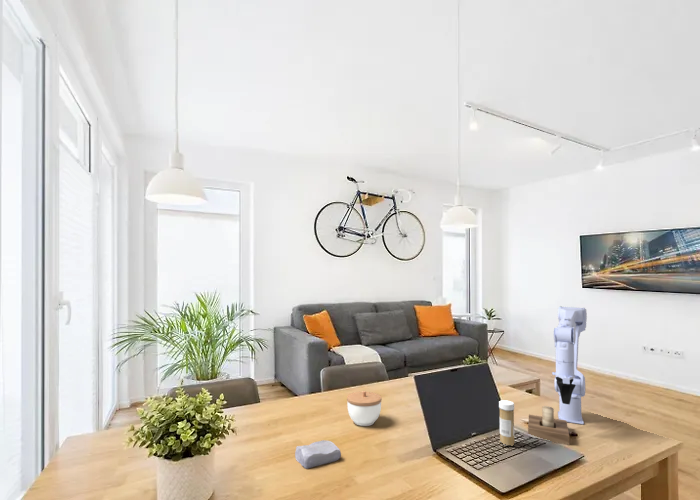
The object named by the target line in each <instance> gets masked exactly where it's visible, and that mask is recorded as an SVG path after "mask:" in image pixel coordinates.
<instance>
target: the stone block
mask: <svg viewBox="0 0 700 500" xmlns="http://www.w3.org/2000/svg"><path fill="white" fill-rule="evenodd" d="M294 456H295V457H294V458H295V460H296V461H297V462H298V463H299V464H300V465H301V467H303V468H304V469H311V468H315V467H320V466H323V465H326V464H329V463H333V462H334V463H335V462H337V461H338V460H340V459H341V456H342V452H341V449H340V448H339V447H338V446H337V445H336V444H335V443H334V442H332V441H330V440H319V441H314V442H311V443H310V444H305V445H297V446H296V447H295V453H294Z"/></svg>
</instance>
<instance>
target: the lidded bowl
mask: <svg viewBox="0 0 700 500" xmlns="http://www.w3.org/2000/svg"><path fill="white" fill-rule="evenodd" d="M346 401H347V403H346V404H347V412H348V415H349V417H350V419H351V420H352V421H353V423H354V424H355V425H357V426H358V427H359V426H360V427H368V426H369V427H370V426H372V425H374V424H375V422H376V421H377V420H378V418H379V417H380V415H381V414H380V413H381V410H382V396H381V395H380V394H379V393H377V392H371V391H366V390H363V391H355V392H352V393H349V394H348V395H347V396H346Z"/></svg>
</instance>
